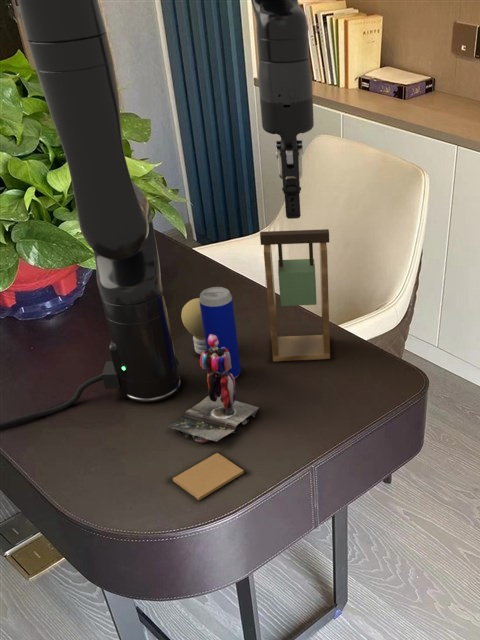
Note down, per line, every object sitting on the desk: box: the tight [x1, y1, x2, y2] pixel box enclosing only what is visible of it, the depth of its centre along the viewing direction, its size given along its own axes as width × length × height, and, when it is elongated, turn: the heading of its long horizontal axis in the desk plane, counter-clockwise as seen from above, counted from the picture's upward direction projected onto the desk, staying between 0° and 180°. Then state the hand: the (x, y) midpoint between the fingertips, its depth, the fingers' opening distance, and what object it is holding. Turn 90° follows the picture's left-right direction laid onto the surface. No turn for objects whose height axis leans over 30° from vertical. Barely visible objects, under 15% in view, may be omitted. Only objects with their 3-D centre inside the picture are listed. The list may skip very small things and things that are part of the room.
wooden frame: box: [263, 243, 331, 362], centre depth 123 cm, size 10×7×20 cm
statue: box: [167, 334, 260, 444], centre depth 108 cm, size 11×9×15 cm
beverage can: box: [199, 286, 242, 380], centre depth 118 cm, size 5×5×15 cm
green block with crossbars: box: [259, 228, 330, 307], centre depth 119 cm, size 11×5×12 cm, turn 95°
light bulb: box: [181, 297, 207, 356], centre depth 126 cm, size 6×6×10 cm
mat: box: [172, 452, 245, 501], centre depth 102 cm, size 8×6×1 cm
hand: (292, 207), depth 113 cm, fingers open, 8 cm apart
